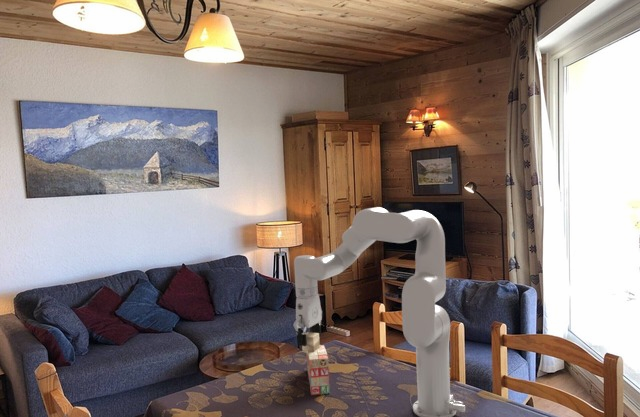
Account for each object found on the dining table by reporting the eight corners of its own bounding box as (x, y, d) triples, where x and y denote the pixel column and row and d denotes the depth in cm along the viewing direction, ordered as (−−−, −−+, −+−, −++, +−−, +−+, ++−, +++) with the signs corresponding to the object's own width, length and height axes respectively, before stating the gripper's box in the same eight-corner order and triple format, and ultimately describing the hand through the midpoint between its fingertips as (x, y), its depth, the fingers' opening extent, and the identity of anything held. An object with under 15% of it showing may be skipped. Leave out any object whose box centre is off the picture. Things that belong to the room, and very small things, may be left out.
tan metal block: (319, 347, 174) (319, 333, 174) (314, 351, 170) (313, 337, 170) (308, 346, 176) (307, 332, 176) (302, 350, 172) (301, 336, 172)
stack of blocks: (306, 370, 186) (305, 338, 185) (323, 369, 186) (322, 336, 186) (311, 395, 165) (309, 359, 164) (330, 394, 165) (328, 357, 164)
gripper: (303, 298, 162) (306, 350, 163) (328, 286, 177) (331, 334, 178) (283, 297, 166) (286, 347, 167) (310, 285, 181) (312, 332, 182)
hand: (309, 340), depth 173 cm, fingers open, 9 cm apart
